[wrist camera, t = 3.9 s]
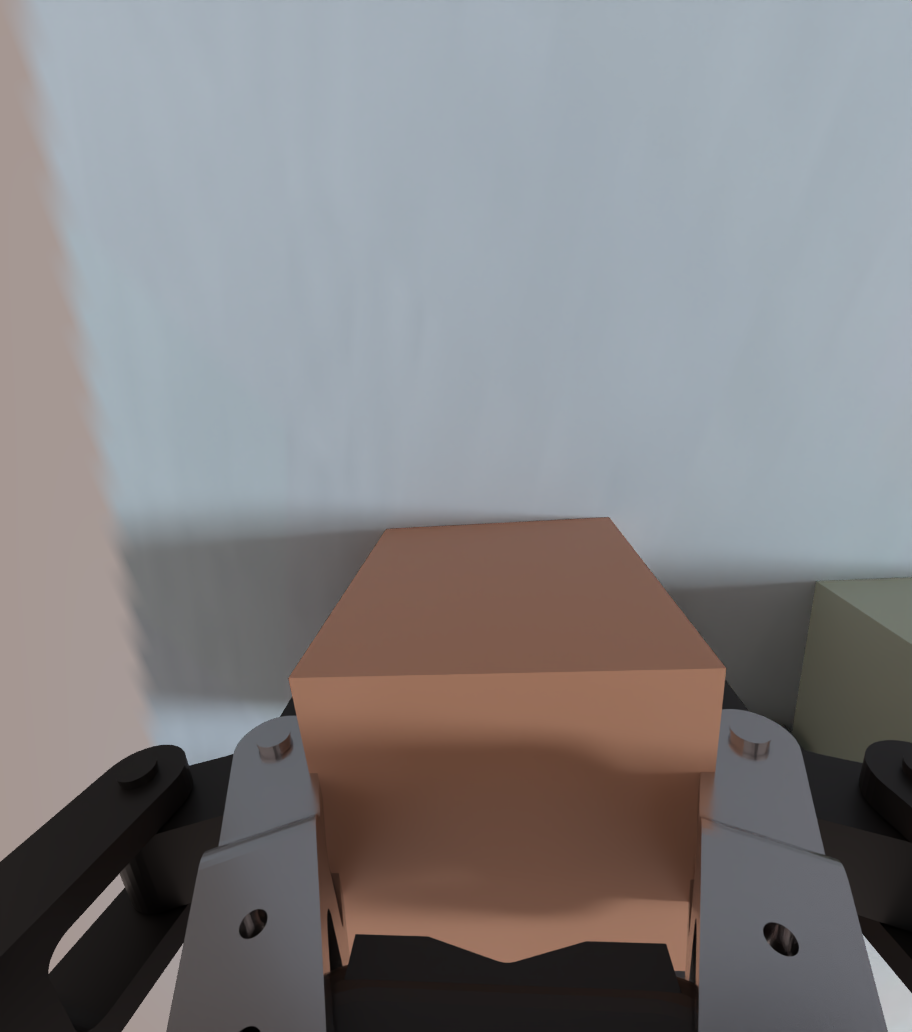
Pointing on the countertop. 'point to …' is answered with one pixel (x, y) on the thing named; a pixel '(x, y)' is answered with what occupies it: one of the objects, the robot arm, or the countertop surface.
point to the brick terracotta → (511, 739)
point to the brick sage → (856, 668)
